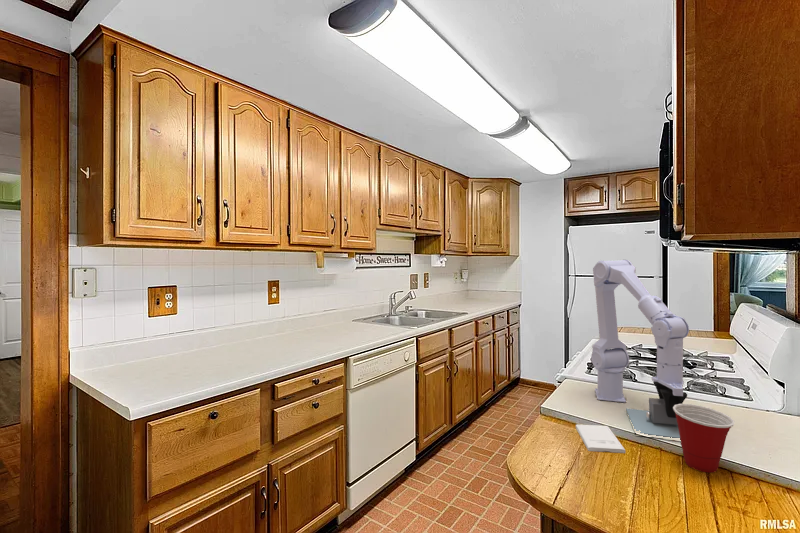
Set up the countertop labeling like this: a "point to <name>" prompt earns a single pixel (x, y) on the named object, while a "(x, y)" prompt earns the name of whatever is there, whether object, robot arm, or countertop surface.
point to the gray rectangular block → (660, 412)
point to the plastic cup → (702, 435)
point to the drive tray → (651, 424)
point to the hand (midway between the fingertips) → (669, 413)
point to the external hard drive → (599, 438)
